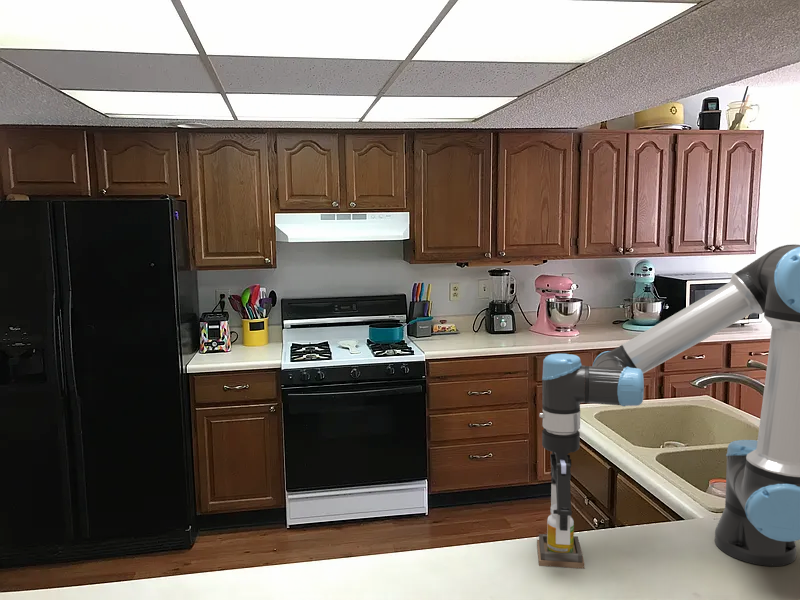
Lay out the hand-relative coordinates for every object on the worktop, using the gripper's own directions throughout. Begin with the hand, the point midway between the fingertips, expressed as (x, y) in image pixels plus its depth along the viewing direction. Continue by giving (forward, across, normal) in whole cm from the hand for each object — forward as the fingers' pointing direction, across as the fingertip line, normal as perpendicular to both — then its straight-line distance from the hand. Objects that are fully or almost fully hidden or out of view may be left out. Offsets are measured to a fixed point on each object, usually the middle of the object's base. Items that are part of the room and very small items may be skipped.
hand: (560, 527), depth 133 cm
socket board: (+6, 0, 0) cm, 6 cm away
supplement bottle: (+5, 0, 0) cm, 5 cm away
